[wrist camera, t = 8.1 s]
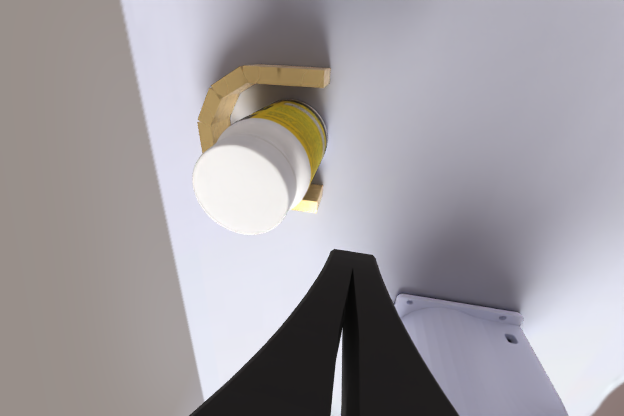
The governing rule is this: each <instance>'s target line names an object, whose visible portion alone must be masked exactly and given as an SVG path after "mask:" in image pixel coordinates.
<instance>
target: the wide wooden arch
mask: <svg viewBox="0 0 624 416" xmlns="http://www.w3.org/2000/svg"><path fill="white" fill-rule="evenodd" d="M330 73H331V68H321V67H303V66H284V65H266V64H256V65H243V66H240V67H238V68H237V69H235V70H234V71H232V72H231V73H229V74H228V75H226V76H225V77H223V78H222V79H220V80H219V81H217V82H216V83H214V84H213V85H211V86H212V87H211V88H209V90H208V93H207V95H206V98H205V101H204V104H203V106H202V109H201V112H200V114H199V117H198V120H199V122H197V123H198V129H199V135H200V141H201V147H202V153H204V152H205V151H206V150H208V149H209V148H210V147H212V146H213V145H214V144H215V143H216V142H217V140H218V138H219V137H220V135H221V134H222V133H223V132H224V131H225V130H226V129H227V128H228V127H229V126H231V125H230V115H231V113H232V111H233V108H234V106H235V104H236V102H237V99H238V97H239V95H240V93H241V92H243V91H245V90H246V89H248V88H249V87H251V86H253V85H254V84H270V85H285V86H301V87H316V88H324V87H326V86H327V85H328V84H330ZM322 191H323V185H316V184H310V186H309V188H308V190H307V192H306V194H305V196H304V197H303V199H302V200H301V201H300V202H299V203H298V204H297V205H296V206H295V207H294V208H292V209H291V210H298V211H306V212H313V213H317V210H318V207H319V204H320V201H321V198H322Z"/></svg>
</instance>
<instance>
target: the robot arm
mask: <svg viewBox="0 0 624 416" xmlns="http://www.w3.org/2000/svg"><path fill="white" fill-rule="evenodd" d="M408 300H411V301H408ZM523 321H524V318H523V316H522V315H521V314H520V313H518V312H512V311H506V310H500V309H494V308H488V307H482V306H475V305H469V304H463V303H457V302H451V301H445V300H439V299H433V298H426V297H420V296H414V295H408V294H399V295H398V296H397V298H396V301H395V305H394V304H393V302H392V300H391V298H390V295H389V293H388V291H387V289H386V286H385V284H384V281H383V279H382V276H381V274H380V271H379V268H378V265H377V262H376V258H375V257H374V256H373V255H369V254H363V253H356V252H350V251H344V250H337V249H334V250H332V251H331V252H330V255H329V257H328V259H327V261H326V263H325V265H324V267H323V269H322V271H321V272H320V274H319V276H318V277H317V279H316V280H315V282H314V283H313V285H312V286H311V288H310V289H309V291H308V292H307V294H306V295H305V297H304V298H303V299H302V301H301V302H300V303H299V304H298V306H297V307H296V308H295V310H294V311H293V312H292V313H291V315H290V316H289V317H288V319H287V320H286V321H285V322H284V323H283V325H282V326H281V327H280V328H279V329H278V330H277V331H276V333H275V334H274V335H273V336H272V337H271V338H270V339H269V340H268V341H267V343H266V344H265V345H264V346H263V347H262V348H261V349H260V350H259V351H258V352H257V353H256V354H255V355H254V356H253V357H252V358H251V359H250V360H249V361H248V362H247V363H246V364H245V365H244V366H243V367H242V368H241V369H240V370H239V371H238V372H237V373H236V374H235V375H234V376H233V377H232V378H231V379H230V380H229V381H228V382H227V383H225V384H224V385H223V386H222V387H221V388H220V389H219V390H218V391H216V392H215V393H214V394H213V395H212V396H211V397H210V398H209V399H207V400H206V401H205V402H204V403H203V404H202V405H201V406H199V408H197V409H196V410H195V411H194V412H193V413H192V414H190V415H189V416H330V414H331V404H332V393H333V383H334V373H335V363H336V357H337V352H338V348H339V343H340V338H341V333H342V406H341V416H568V414H567V411H566V409H565V407H564V405H563V403H562V401H561V399H560V397H559V395H558V393H557V392H556V390H555V388H554V386H553V384H552V383H551V381H550V379H549V377H548V376H547V374H546V372H545V370H544V368H543V367H542V365H541V363H540V361H539V359H538V358H537V356H536V354H535V352H534V350H533V349H532V347H531V345H530V343H529V342H528V340H527V338H526V336H525V334H524V333H523V331H522V329H521V327H520V325H521V324H522V322H523ZM342 328H343V332H342Z"/></svg>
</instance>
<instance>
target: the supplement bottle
mask: <svg viewBox="0 0 624 416" xmlns="http://www.w3.org/2000/svg"><path fill="white" fill-rule="evenodd" d="M327 142H328V136H327V130H326V126H325V124H324V122H323V120H322V118H321V116H320V115H319V114H318V113H317V112H316V111H315V110H314V109H313V108H312V107H311V106H309V105H308V104H306V103H304V102H301V101H298V100H292V99H287V100H281V101H277V102H275V103H273V104H271V105H269V106H267V107H265V108H263V109H261V110H259V111H257V112H255V113H253V114H251V115H249V116H247V117H245V118H243V119H241V120H239V121H237V122H235V123H234V124H232V125H231V126H229V127H228V128H227V129H226V130H225V131H224V132H223V133H222V134H221V135H220V137H219V138H218V140H217V142H216V143H215V144H214V145H213V146H212V147H210V148H209V149H208V150H206V151H205V152H204V153H203V154H202V155H201V156H200V157H199V159H198V160H197V162H196V164H195V167H194V170H193V188H194V192H195V195H196V198H197V200H198V202H199V204H200V205H201V207H202V208H203V210H204V211H205V212H206V213H207V215H208V216H209V217H210V218H211V219H213V220H214V221H215V222H216V223H218V224H219V225H221V226H222V227H224V228H226V229H228V230H231V231H233V232H236V233H240V234H246V235H256V234H262V233H265V232H268V231H270V230H272V229H273V228H275V227H276V226H278V225H279V224H280V223H281V222H282V220H283V219H284V217H285V216H286V214H287V212H288V211H289V210H291V209H292V208H294V207H295V206H296V205H297V204H298V203H299V202H300V201H301V200H302V199H303V197H304V196H305V194H306V192H307V190H308V188H309V186H310V184H311V182H312V179H313V177H314V175H315V173H316V171H317V168H318V166H319V164H320V162H321V160H322V158H323V156H324V154H325V151H326V148H327Z"/></svg>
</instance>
